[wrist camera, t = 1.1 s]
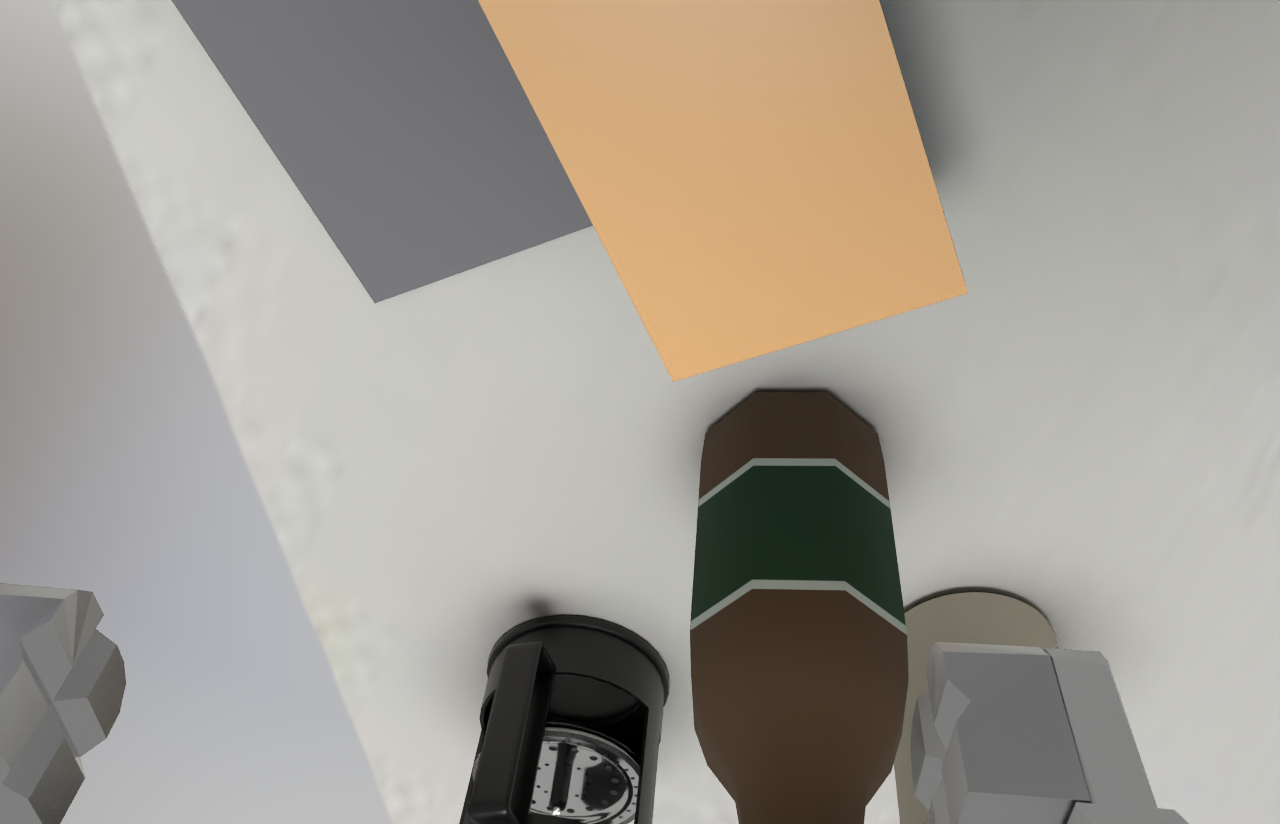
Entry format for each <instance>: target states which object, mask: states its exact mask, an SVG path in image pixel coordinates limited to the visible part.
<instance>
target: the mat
mask: <svg viewBox="0 0 1280 824" xmlns="http://www.w3.org/2000/svg"><path fill="white" fill-rule="evenodd" d="M172 2H173V3H174V5H175V6H176V8H177V9H178V10H179V12H180V13H181V15H182V16H183V18H184V19H185V21H186V22H187V24H188V25H189V27H190V28H191V30H192V31H193V33H194V34H195V36H196V37H197V39H198V40H199V42H200V43H201V45H202V46H203V48H204V49H205V51H206V52H207V54H208V55H209V57H210V58H211V60H212V61H213V63H214V64H215V66H216V67H217V69H218V70H219V72H220V73H221V75H222V76H223V78H224V79H225V81H226V82H227V84H228V85H229V87H230V88H231V89H232V91H233V92H234V94H235V95H236V97H237V98H238V100H239V101H240V103H241V104H242V106H243V107H244V109H245V110H246V112H247V113H248V115H249V116H250V118H251V119H252V121H253V122H254V124H255V125H256V127H257V128H258V130H259V131H260V133H261V134H262V136H263V137H264V139H265V140H266V142H267V143H268V145H269V146H270V148H271V149H272V151H273V152H274V154H275V155H276V157H277V158H278V160H279V161H280V163H281V164H282V166H283V167H284V168H285V170H286V171H287V173H288V174H289V176H290V177H291V179H292V180H293V182H294V183H295V185H296V186H297V188H298V189H299V191H300V192H301V194H302V195H303V197H304V198H305V200H306V201H307V203H308V204H309V206H310V207H311V209H312V210H313V212H314V213H315V215H316V216H317V218H318V219H319V221H320V222H321V224H322V225H323V227H324V228H325V230H326V231H327V233H328V234H329V236H330V237H331V239H332V240H333V242H334V243H335V245H336V246H337V247H338V249H339V250H340V252H341V253H342V255H343V256H344V258H345V259H346V261H347V262H348V264H349V265H350V267H351V268H352V270H353V271H354V273H355V274H356V276H357V277H358V279H359V280H360V282H361V283H362V285H363V286H364V288H365V289H366V291H367V292H368V294H369V295H370V297H371V298H372V300H373V301H374V303H377V302H380V301H383V300H385V299H388V298H391V297H394V296H397V295H399V294H402V293H405V292H408V291H411V290H413V289H416V288H419V287H422V286H424V285H427V284H430V283H433V282H436V281H438V280H441V279H444V278H447V277H450V276H452V275H455V274H458V273H461V272H464V271H466V270H469V269H472V268H475V267H478V266H480V265H483V264H486V263H489V262H492V261H494V260H497V259H500V258H503V257H505V256H508V255H511V254H514V253H517V252H519V251H522V250H525V249H528V248H531V247H533V246H536V245H539V244H542V243H545V242H547V241H550V240H553V239H556V238H559V237H561V236H564V235H567V234H570V233H573V232H575V231H578V230H581V229H584V228H587V227H589V226H592V225H593V224H592V222H591V220H590V218H589V216H588V214H587V212H586V210H585V208H584V207H583V205H582V203H581V201H580V199H579V197H578V195H577V193H576V191H575V189H574V187H573V185H572V183H571V181H570V179H569V177H568V175H567V173H566V171H565V169H564V167H563V165H562V164H561V162H560V160H559V158H558V156H557V154H556V152H555V150H554V148H553V146H552V144H551V142H550V140H549V138H548V136H547V134H546V132H545V130H544V128H543V126H542V124H541V123H540V121H539V119H538V117H537V115H536V113H535V111H534V109H533V107H532V105H531V103H530V101H529V99H528V97H527V95H526V93H525V91H524V89H523V87H522V85H521V83H520V81H519V80H518V78H517V76H516V74H515V72H514V70H513V68H512V66H511V64H510V62H509V60H508V58H507V56H506V54H505V52H504V50H503V48H502V46H501V44H500V42H499V40H498V38H497V37H496V35H495V33H494V31H493V29H492V27H491V25H490V23H489V21H488V19H487V17H486V15H485V13H484V11H483V9H482V7H481V5H480V3H479V1H478V0H172Z"/></svg>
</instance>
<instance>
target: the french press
mask: <svg viewBox="0 0 1280 824" xmlns="http://www.w3.org/2000/svg"><path fill="white" fill-rule="evenodd" d="M555 674H566V675H576V676H582V677H587V678H592V679H595V680H598V681H601V682H605V683H608V684H610V685H612V686H614V687H616V688H618V689H620V690H623V691H624V692H626V693H627V694H629V695H630V696H632V697H633V698H635V699H636V700H637V701H638V704H637V705H635V706H634V707H633V708H632V709H631V710H630V711H628V712H626V713H624V714H623V715H620V716H618V717H615V718H612V719H608V720H603V721H592V722H584V721H573V720H567V719H562V718H559V717H556V716H552V715H550V714H548V711H549V706H550V700H551V695H552V689H553V684H554V679H555ZM487 675H488V683H487V687H486V691H485V695H484V699H483V703H482V708H481V714H480V723H481V728H482V731H481V735H480V739H479V744H478V748H477V752H476V756H475V760H474V765H473V769H472V773H471V777H470V781H469V786H468V790H467V794H466V798H465V802H464V807H463V811H462V815H461V819H460V823H459V824H627V823H629V822H631V821H632V820H634V819H635V821H634V824H652V818H653V806H654V795H655V783H656V772H657V760H658V749H659V743H660V739H661V727H662V716H663V707H664V706H665V704H666V701H667V697H668V694H669V675H668V672H667V669H666V666H665V663H664V662H663V660H662V659H661V657H660V656H659V654H658V653H657V652H656V650H655V649H654V648H653V647H652V646H651V645H650V644H649V643H648V642H646V641H645V640H643V639H642V638H641V637H639V636H638V635H636V634H635V633H633V632H631V631H629V630H627V629H625V628H623V627H621V626H619V625H616V624H613V623H610V622H607V621H604V620H601V619H595V618H590V617H585V616H570V615H560V616H548V617H543V618H538V619H534V620H530V621H527V622H525V623H523V624H520V625H518V626H516V627H514V628H513V629H511V630H510V631H508V632H507V633H505V634H504V635H503V636H502V637H501V638H500V639H499V641H498V642H497V643H496V644H495V645H494V647H493V650H492V652H491V654H490V656H489V660H488V667H487Z"/></svg>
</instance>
